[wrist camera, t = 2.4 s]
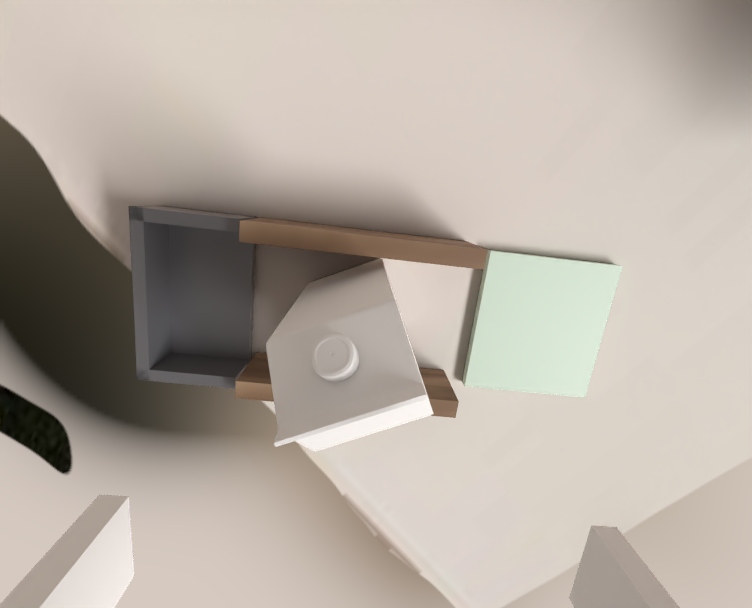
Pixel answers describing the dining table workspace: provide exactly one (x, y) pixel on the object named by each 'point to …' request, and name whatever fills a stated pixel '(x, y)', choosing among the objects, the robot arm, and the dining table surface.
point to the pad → (539, 323)
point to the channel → (361, 243)
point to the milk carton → (344, 362)
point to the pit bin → (191, 295)
